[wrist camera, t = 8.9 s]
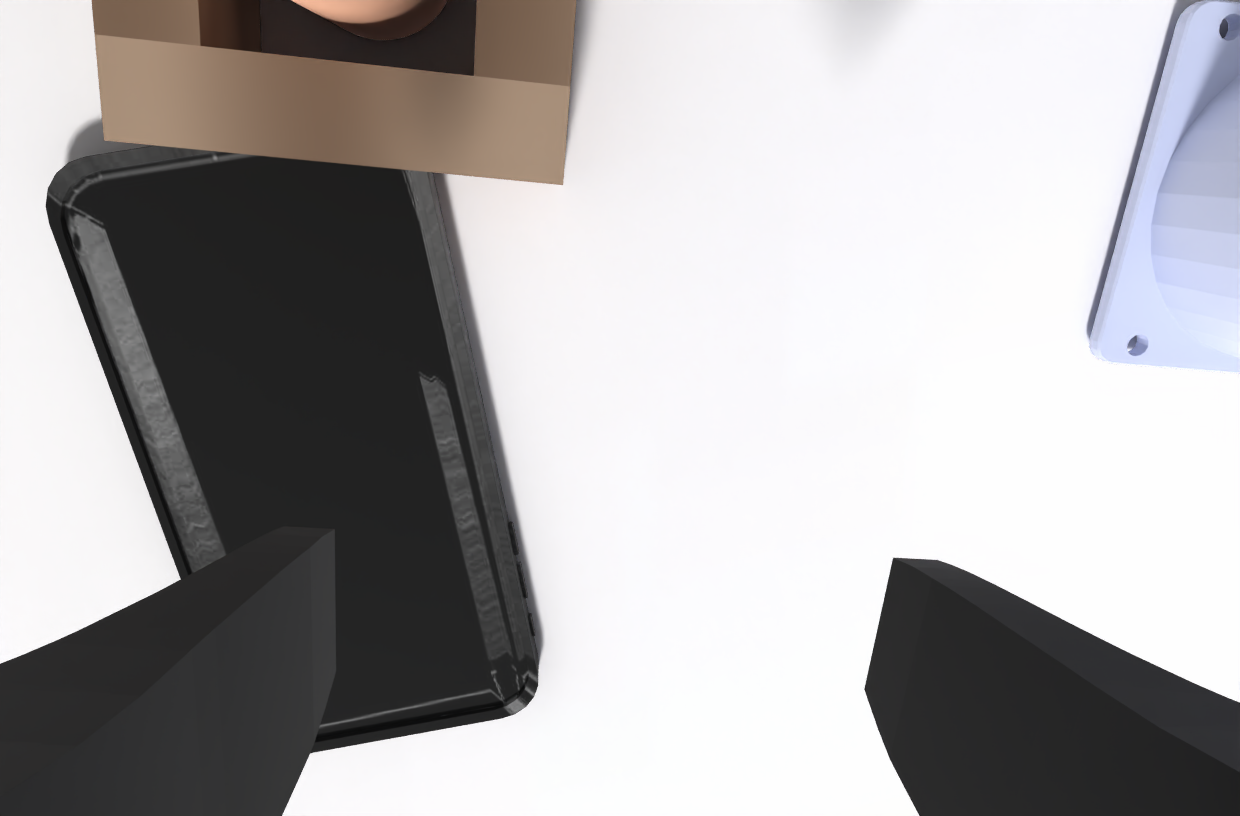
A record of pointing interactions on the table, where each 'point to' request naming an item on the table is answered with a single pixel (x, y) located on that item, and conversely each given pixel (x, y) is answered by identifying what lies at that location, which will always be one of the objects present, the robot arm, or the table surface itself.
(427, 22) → the peg
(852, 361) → the table surface
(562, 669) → the table surface
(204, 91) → the socket block
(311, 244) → the phone
